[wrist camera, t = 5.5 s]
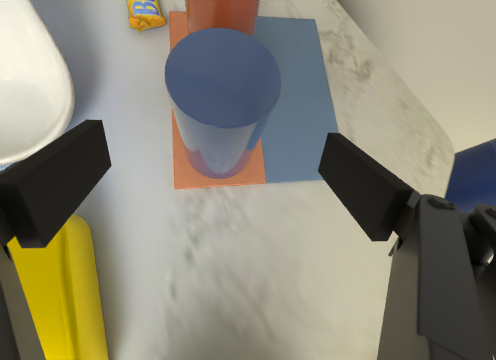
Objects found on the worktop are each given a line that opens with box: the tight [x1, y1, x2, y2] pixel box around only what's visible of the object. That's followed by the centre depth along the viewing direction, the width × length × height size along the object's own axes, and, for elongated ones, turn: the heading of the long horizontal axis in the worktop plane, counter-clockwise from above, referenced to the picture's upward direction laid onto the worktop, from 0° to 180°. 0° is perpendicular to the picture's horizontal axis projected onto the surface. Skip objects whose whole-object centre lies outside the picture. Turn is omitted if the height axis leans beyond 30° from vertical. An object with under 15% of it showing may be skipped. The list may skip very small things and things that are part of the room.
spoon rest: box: [0, 0, 75, 165], centre depth 21 cm, size 24×12×7 cm, turn 6°
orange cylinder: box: [185, 0, 261, 37], centre depth 22 cm, size 7×7×11 cm
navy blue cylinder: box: [165, 28, 282, 179], centre depth 19 cm, size 7×7×11 cm
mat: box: [169, 11, 338, 189], centre depth 27 cm, size 18×21×1 cm
